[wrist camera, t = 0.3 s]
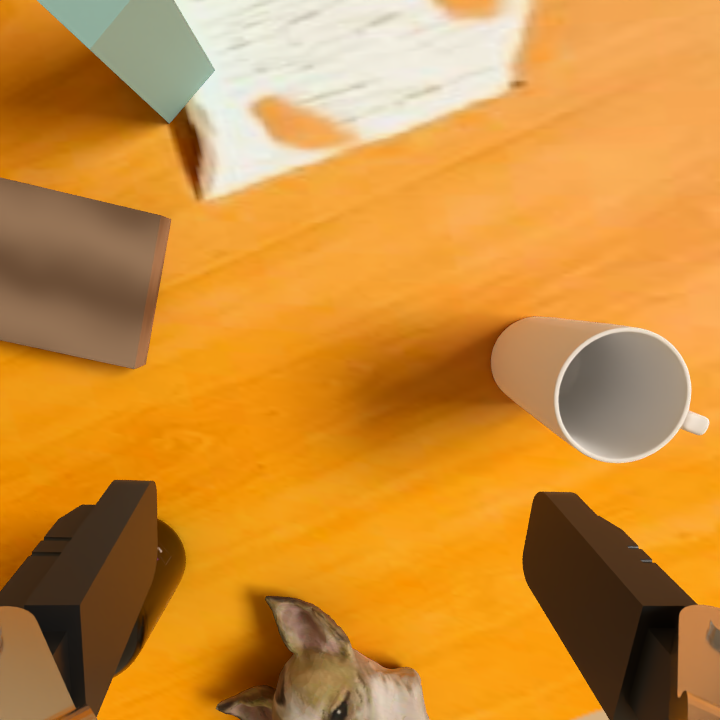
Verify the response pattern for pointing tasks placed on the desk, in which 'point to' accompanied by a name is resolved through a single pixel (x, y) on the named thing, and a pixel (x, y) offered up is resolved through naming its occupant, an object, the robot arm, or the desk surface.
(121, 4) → the pillar
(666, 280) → the desk surface
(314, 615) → the ceramic sculpture
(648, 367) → the mug
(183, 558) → the supplement bottle
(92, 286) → the base
